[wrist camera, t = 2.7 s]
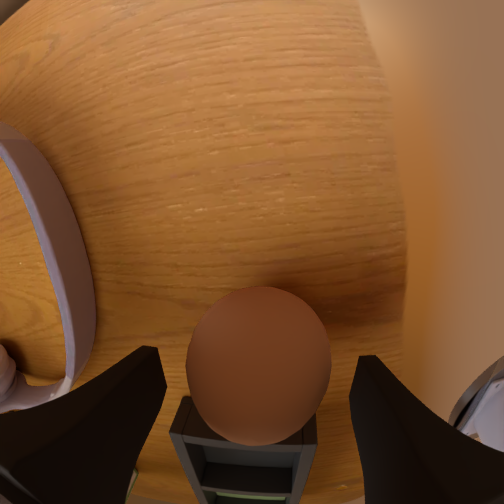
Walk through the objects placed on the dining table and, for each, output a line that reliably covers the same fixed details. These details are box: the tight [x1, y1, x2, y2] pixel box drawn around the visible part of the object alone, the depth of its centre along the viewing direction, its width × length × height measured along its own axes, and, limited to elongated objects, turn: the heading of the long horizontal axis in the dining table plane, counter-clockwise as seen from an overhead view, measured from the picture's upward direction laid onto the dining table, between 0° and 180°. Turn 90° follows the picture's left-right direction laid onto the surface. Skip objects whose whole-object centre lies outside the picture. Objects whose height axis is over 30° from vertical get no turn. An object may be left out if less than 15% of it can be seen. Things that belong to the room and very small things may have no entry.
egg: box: [186, 286, 332, 446], centre depth 10 cm, size 5×5×7 cm
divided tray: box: [169, 397, 318, 504], centre depth 17 cm, size 8×15×3 cm, turn 1°
